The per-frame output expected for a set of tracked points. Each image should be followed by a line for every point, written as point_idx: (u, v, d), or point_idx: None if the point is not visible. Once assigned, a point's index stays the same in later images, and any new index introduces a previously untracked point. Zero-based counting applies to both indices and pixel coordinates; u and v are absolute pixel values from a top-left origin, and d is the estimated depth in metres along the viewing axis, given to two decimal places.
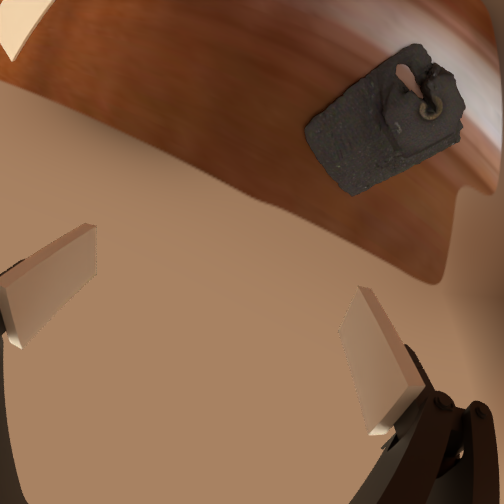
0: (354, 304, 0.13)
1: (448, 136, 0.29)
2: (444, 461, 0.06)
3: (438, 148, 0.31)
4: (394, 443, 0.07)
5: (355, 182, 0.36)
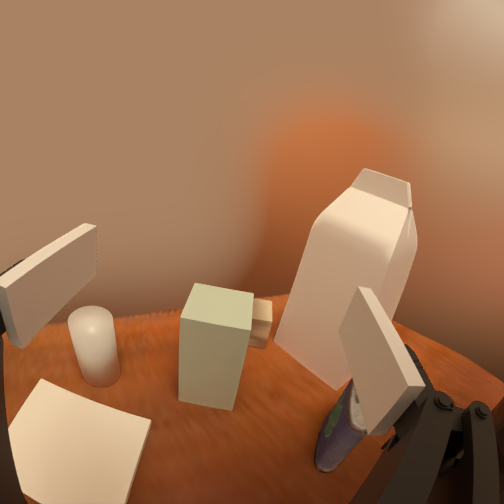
0: (354, 304, 0.13)
1: None
2: (444, 461, 0.06)
3: None
4: (394, 443, 0.07)
5: None
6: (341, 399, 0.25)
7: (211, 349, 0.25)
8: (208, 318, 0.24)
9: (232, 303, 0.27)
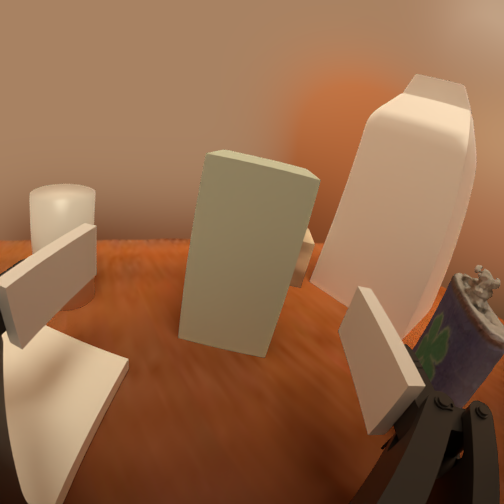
0: (354, 304, 0.13)
1: None
2: (444, 461, 0.06)
3: None
4: (394, 443, 0.07)
5: None
6: (438, 325, 0.15)
7: (248, 219, 0.15)
8: (250, 161, 0.15)
9: (281, 164, 0.17)
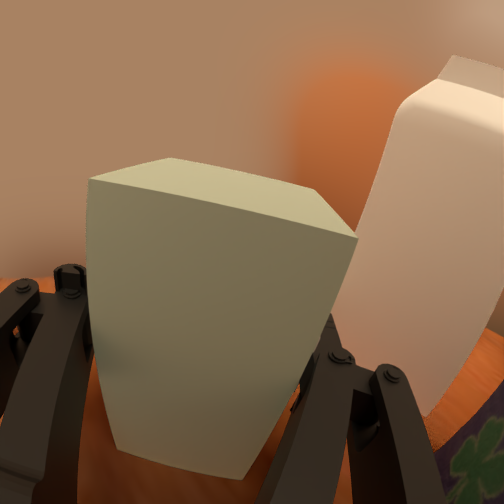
0: None
1: None
2: (363, 431, 0.08)
3: None
4: (299, 404, 0.08)
5: None
6: (496, 436, 0.07)
7: (191, 322, 0.07)
8: (189, 191, 0.06)
9: (267, 187, 0.09)
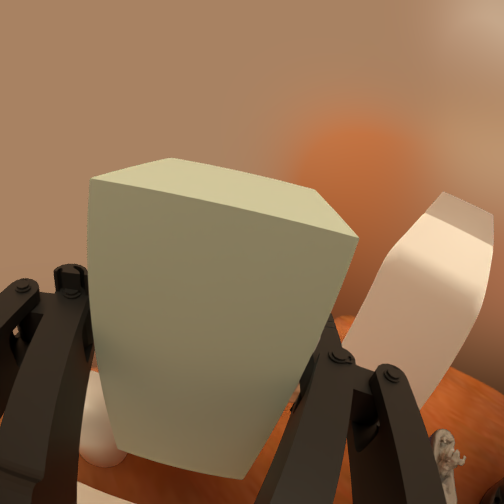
0: None
1: None
2: (363, 431, 0.08)
3: None
4: (299, 404, 0.08)
5: None
6: None
7: (192, 322, 0.07)
8: (191, 191, 0.06)
9: (267, 187, 0.09)
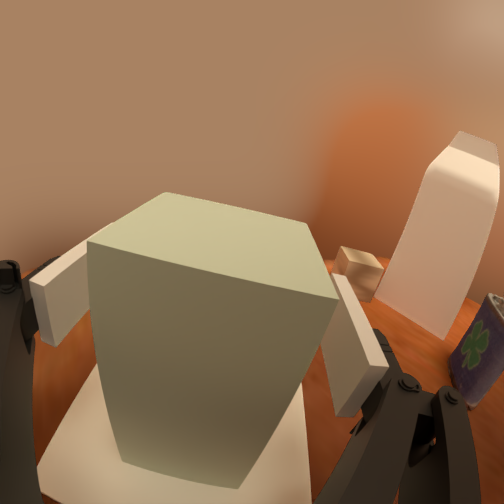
0: None
1: None
2: (417, 448, 0.07)
3: None
4: (362, 427, 0.08)
5: None
6: (479, 328, 0.21)
7: (187, 365, 0.07)
8: (182, 253, 0.07)
9: (258, 231, 0.09)
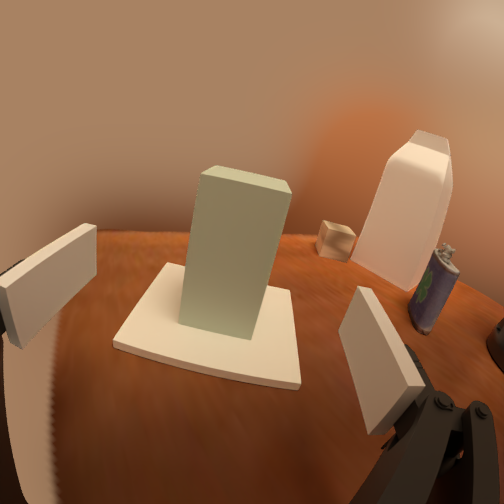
0: (354, 304, 0.13)
1: None
2: (444, 461, 0.06)
3: None
4: (394, 443, 0.07)
5: None
6: (427, 272, 0.33)
7: (235, 226, 0.19)
8: (236, 179, 0.19)
9: (262, 179, 0.21)
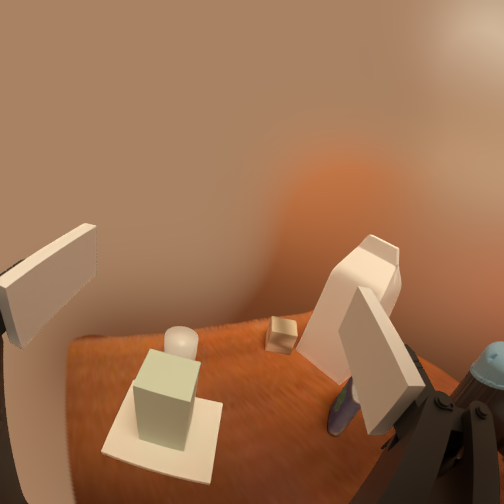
0: (354, 304, 0.13)
1: None
2: (444, 461, 0.06)
3: None
4: (394, 443, 0.07)
5: None
6: (345, 387, 0.40)
7: (159, 409, 0.26)
8: (155, 388, 0.25)
9: (179, 373, 0.28)
